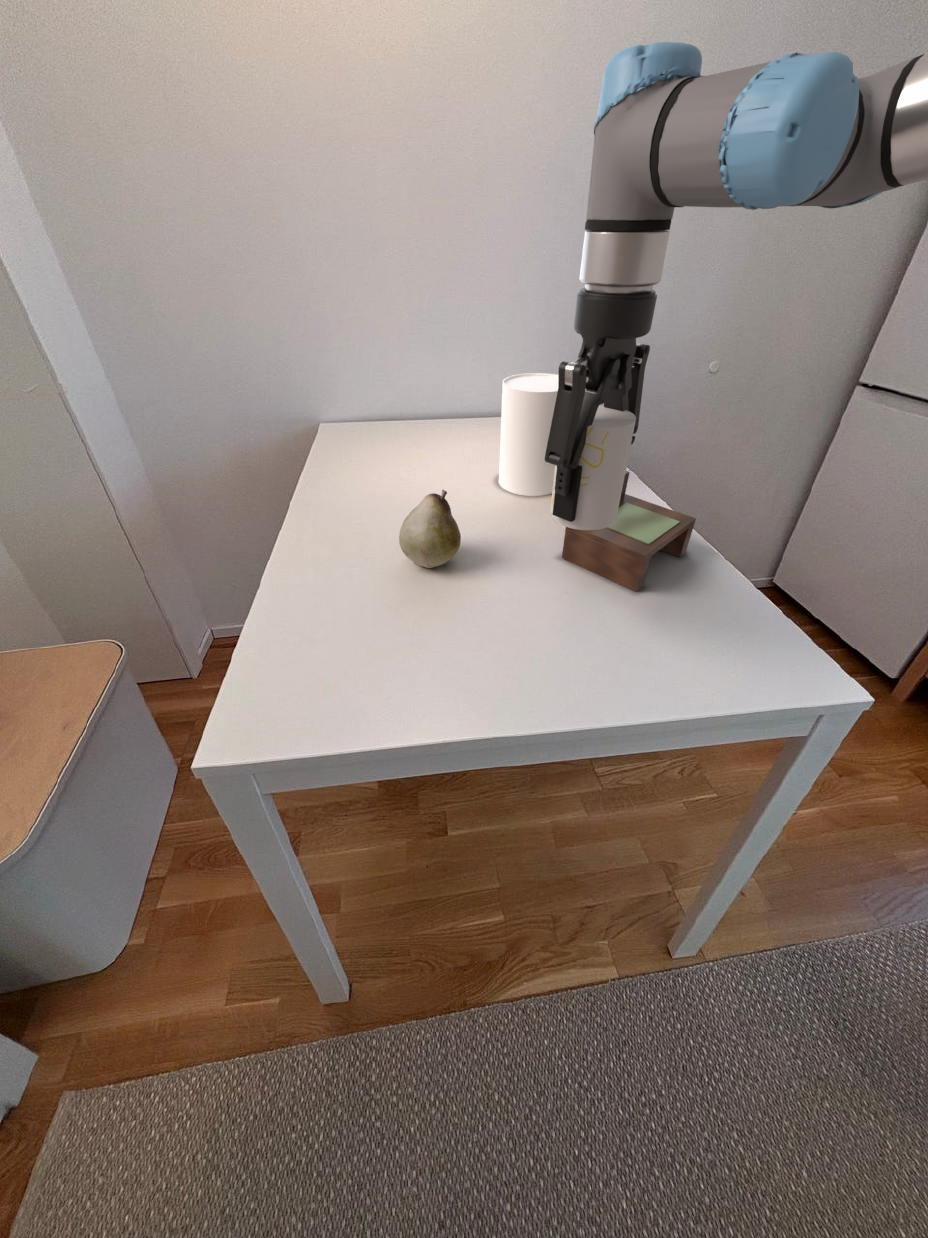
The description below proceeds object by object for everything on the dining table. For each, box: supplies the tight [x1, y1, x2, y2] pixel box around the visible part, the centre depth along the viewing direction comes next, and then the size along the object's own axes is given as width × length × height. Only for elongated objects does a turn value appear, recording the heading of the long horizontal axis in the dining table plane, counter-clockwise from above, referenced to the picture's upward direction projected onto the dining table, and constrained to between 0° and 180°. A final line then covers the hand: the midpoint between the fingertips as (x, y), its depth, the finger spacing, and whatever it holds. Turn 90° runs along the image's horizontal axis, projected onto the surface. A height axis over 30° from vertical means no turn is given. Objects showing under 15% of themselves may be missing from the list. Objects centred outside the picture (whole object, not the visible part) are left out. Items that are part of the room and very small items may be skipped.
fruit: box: [398, 489, 462, 569], centre depth 82 cm, size 10×9×12 cm
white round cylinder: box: [549, 404, 636, 530], centre depth 61 cm, size 8×8×12 cm
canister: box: [498, 372, 558, 497], centre depth 104 cm, size 14×14×20 cm
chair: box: [561, 470, 697, 593], centre depth 84 cm, size 14×16×10 cm
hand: (584, 504), depth 64 cm, fingers closed on white round cylinder, 8 cm apart
